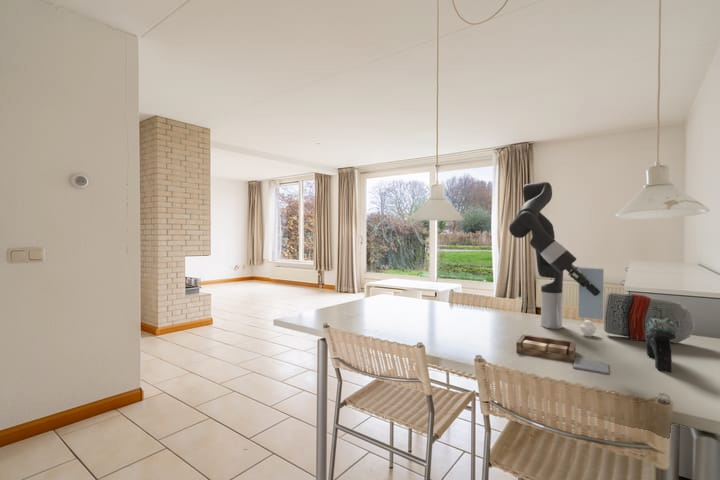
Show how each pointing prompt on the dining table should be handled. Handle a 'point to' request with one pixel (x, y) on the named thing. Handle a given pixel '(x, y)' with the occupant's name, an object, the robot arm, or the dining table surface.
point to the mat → (591, 366)
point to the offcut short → (558, 349)
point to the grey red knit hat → (644, 315)
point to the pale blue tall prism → (587, 301)
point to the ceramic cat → (660, 341)
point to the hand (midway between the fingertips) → (597, 293)
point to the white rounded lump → (588, 328)
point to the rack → (569, 344)
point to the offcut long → (535, 345)
